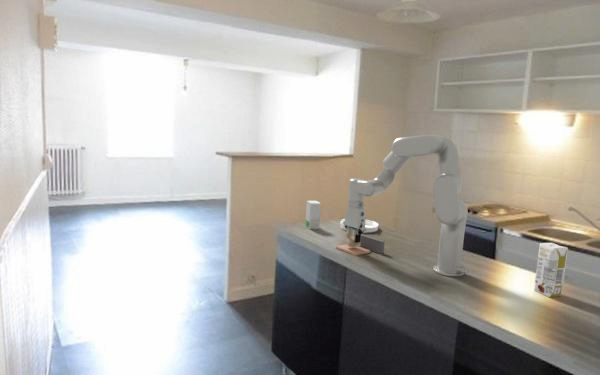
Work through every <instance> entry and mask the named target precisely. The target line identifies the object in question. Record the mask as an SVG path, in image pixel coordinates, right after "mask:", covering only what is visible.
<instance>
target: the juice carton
mask: <svg viewBox="0 0 600 375" xmlns="http://www.w3.org/2000/svg"><path fill="white" fill-rule="evenodd" d="M538 247H539V249H538V255H537V264H536V271H535V277H534V279H535V280H534V286H533V289H534V292H536V293H539V294H541V295H543V296H545V297H547V298H555V297H561V296H562V294H563V288H564V282H565V274H566V267H567V259H568V250H569V247H568V246H562V245H559V244H556V243H555V242H540V243H539V246H538Z"/></svg>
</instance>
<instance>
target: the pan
mask: <svg viewBox="0 0 600 375" xmlns="http://www.w3.org/2000/svg"><path fill="white" fill-rule="evenodd" d="M344 221H345V218H343V219H342V218H341V220H340V221H339V224H340V229H342V230H343V231H346V228H345V226H344V224H343V222H344ZM379 226H380V225H379V223H378V222H377V221H374V220H369V219H365V227H366V230H365V231H364V232H363V233H362V234H369V233H370V234H371V233H375V232H378V230H379V229H378V228H379Z"/></svg>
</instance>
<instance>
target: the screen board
mask: <svg viewBox="0 0 600 375" xmlns="http://www.w3.org/2000/svg"><path fill="white" fill-rule="evenodd" d="M359 247H362V248H365V249H367V250H370V252H371V251H372V252H374V253H377V254H380V255H382V254H384V253H385V240H383V239H379V238H375V237H372V236H369V235H366V234H364V233H362V234H361V245H360V246H359Z"/></svg>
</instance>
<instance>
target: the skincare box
mask: <svg viewBox="0 0 600 375" xmlns="http://www.w3.org/2000/svg"><path fill="white" fill-rule="evenodd" d="M305 209H306V210H305V222H304V226H305V228H307V229H308V230H319V229H320V223H321V211H322V210H321V209H322V203H321V202H319V201H317V200H306V208H305Z"/></svg>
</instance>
